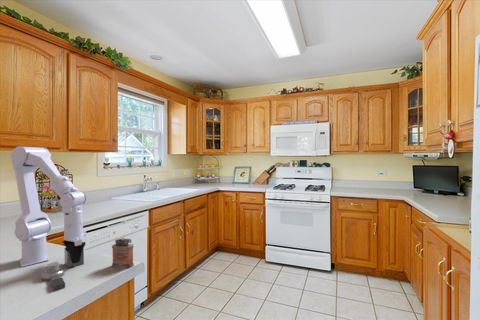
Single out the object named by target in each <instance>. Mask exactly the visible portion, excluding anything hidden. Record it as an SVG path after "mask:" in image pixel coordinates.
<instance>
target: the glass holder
mask: <svg viewBox="0 0 480 320" xmlns="http://www.w3.org/2000/svg"><path fill="white" fill-rule="evenodd" d="M53 197H55V200H56V201H57V206H56V205H55V204H54V203H53V199H52V198H53ZM60 199H61V198H60V197H59V195H58V194H57V195H56V194H55V195H53V194H52V196H51V197H50V203H51V205H52V206H53V207H54V208H56V209H57V212H63V211H62V207H61V205H60V202H59V200H60ZM57 212H56V213H57Z"/></svg>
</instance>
